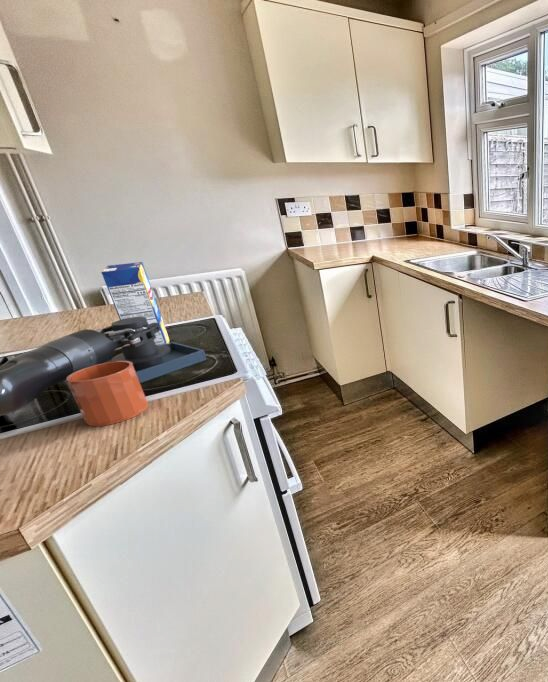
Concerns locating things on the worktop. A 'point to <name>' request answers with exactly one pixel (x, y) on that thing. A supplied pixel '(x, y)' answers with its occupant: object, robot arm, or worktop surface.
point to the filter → (142, 354)
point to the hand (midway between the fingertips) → (138, 327)
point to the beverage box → (134, 295)
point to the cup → (108, 392)
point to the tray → (173, 361)
